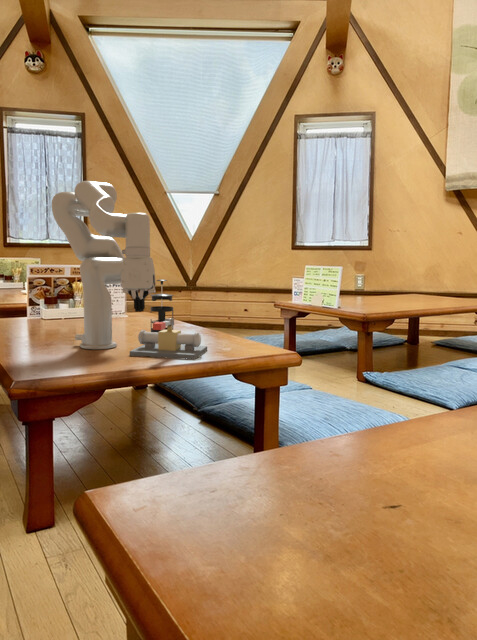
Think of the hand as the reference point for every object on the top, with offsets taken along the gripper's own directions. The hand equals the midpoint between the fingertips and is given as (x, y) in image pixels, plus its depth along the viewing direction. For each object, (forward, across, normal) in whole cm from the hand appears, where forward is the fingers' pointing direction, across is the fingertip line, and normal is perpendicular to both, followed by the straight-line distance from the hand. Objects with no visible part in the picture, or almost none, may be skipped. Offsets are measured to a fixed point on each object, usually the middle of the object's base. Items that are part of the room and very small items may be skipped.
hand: (139, 311), depth 167 cm
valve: (+15, +6, +10) cm, 19 cm away
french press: (+15, -8, +42) cm, 45 cm away
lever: (+6, +6, +5) cm, 10 cm away
